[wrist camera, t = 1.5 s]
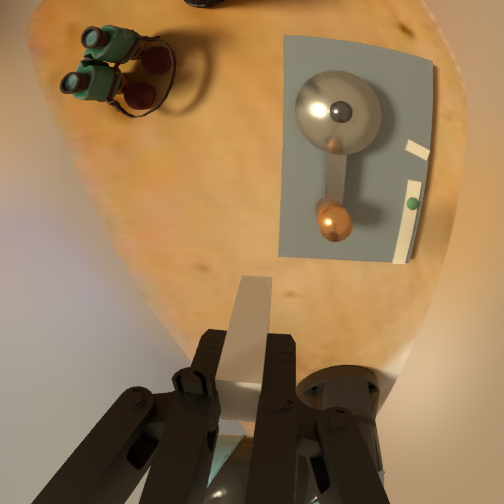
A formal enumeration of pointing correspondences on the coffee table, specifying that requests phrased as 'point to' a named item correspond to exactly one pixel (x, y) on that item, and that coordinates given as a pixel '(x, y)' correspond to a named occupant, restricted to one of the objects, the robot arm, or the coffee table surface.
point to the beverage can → (203, 3)
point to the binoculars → (110, 78)
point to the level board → (359, 154)
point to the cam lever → (336, 137)
